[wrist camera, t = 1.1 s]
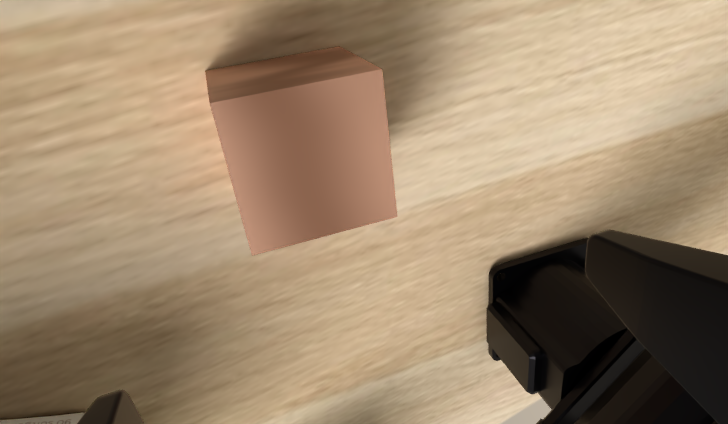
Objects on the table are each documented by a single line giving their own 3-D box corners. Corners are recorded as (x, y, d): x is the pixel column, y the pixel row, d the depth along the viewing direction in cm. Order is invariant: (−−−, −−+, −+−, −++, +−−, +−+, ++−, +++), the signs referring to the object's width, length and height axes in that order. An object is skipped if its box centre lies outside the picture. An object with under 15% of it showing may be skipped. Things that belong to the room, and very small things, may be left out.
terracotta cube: (338, 46, 19) (382, 69, 14) (355, 166, 21) (397, 216, 17) (205, 70, 18) (209, 103, 13) (238, 193, 20) (252, 255, 16)
